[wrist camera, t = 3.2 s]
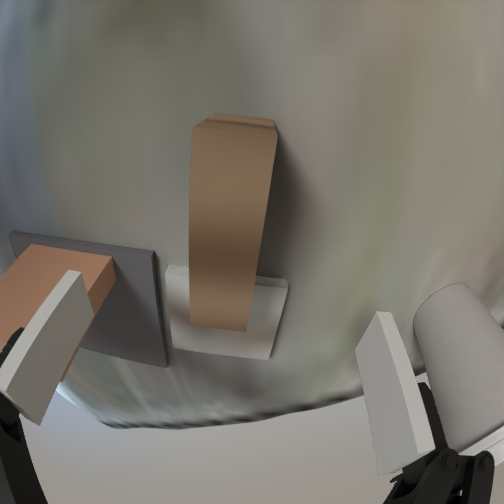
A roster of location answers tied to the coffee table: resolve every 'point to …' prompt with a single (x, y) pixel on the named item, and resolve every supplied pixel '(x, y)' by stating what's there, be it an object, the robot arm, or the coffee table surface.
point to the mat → (118, 301)
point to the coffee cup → (464, 369)
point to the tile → (48, 284)
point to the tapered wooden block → (227, 243)
